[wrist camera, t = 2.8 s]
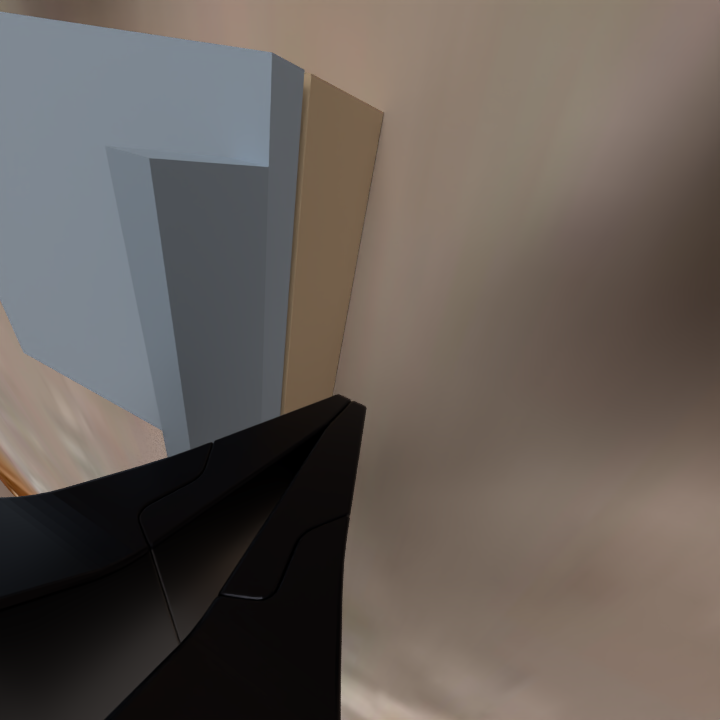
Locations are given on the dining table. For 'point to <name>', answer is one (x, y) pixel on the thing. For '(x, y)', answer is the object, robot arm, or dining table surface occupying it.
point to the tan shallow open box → (325, 235)
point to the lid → (150, 219)
